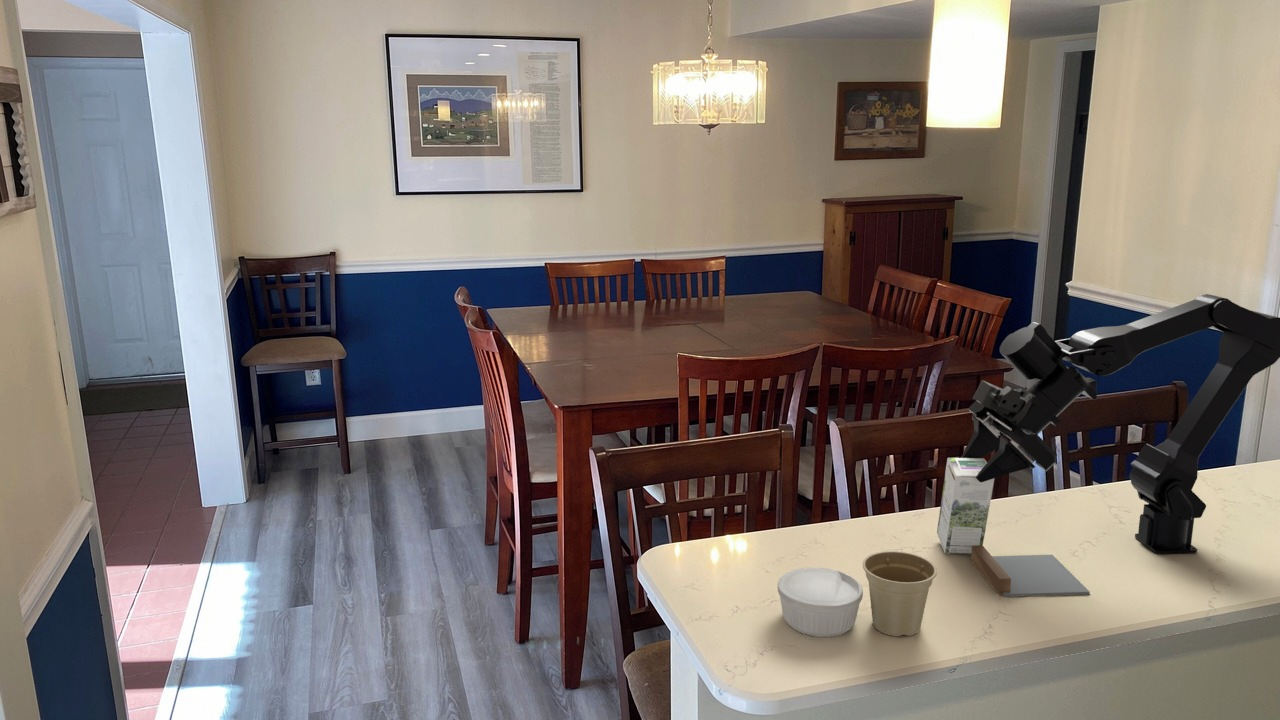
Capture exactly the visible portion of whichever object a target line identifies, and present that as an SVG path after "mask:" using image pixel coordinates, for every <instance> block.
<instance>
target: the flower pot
mask: <svg viewBox="0 0 1280 720" xmlns="http://www.w3.org/2000/svg"><path fill="white" fill-rule="evenodd" d="M862 568H863V570H864V572H865V578H866V580H867V581H868V589H869V599H870V600H869V601H870V609H871V618H872V619H871V621H872V623H873V625H874V627H875V629H876V630H878V632H881V633H883V634H886V635H887V636H888V635H889V636H894V637H900V636H903V635H904V636H907V637H911V636H914V635H915V634H917V633H919V632H920V630H921V628H922V622H923V617H924V613H925V608H926V603H927V599H928V595H929V589H930V587H931V586H932V583H933V580H934V579H935V578H936V577H937V573H938V570H937V567H936V565H935V564H934V563H933V562H932V561H930V560H929V559H928V558H926V557H923V556H921V555H918V554H914V553H911V552H906V551H898V550H895V551H894V550H889V551H888V550H886V551H878V552H874V553H872V554H869V555H868V556H866V557H865V558H864V559H863V561H862Z"/></svg>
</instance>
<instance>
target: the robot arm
mask: <svg viewBox="0 0 1280 720" xmlns="http://www.w3.org/2000/svg"><path fill="white" fill-rule="evenodd" d="M1209 328H1214V329H1216V330H1218V331H1220V332H1222V335H1221V337H1220V338H1219V349H1218V351H1219V352H1218V360H1217V362H1216V363H1215V366H1214V367H1213V368H1212V369H1211V371H1210V372H1209V375H1208V376H1207V377H1206V379H1205V381H1204V382H1203V384H1202V385H1201V386H1200V388H1199V389H1198V391H1197V392H1196V394H1195V395H1194V397H1193V399H1192V400H1191V402H1190V403H1189V404H1188V406H1187V407H1186V409H1185V410H1184V412H1183V414H1182V416H1180V418H1179V419H1178V421H1177V422H1176V424H1175V426H1174V427H1173V428H1172V430H1171V432H1170V434H1169V435H1168V436H1167V438H1166V439H1165V440H1164V441H1163V442H1161V443H1159V444H1157V445H1155V446H1153V445H1151V444H1149V443H1145V444H1144V445H1143V446H1142V447H1141V450H1140V451H1139V453H1138V456H1137V457H1136V458H1135V459H1134V460H1133V461H1132V462H1130V465H1131V466H1132V467H1131V470H1130V472H1129V479H1130V484H1131V485H1132V487H1133V489H1135V491H1136V493H1137V496H1138V499H1139V500H1141V501H1144V502H1146V503H1144V504H1143V508H1142V509H1143V510H1142V514H1141V513H1140V515H1139V521H1138V522H1139V523H1138V530H1137V531H1138V533H1135V534H1134V538H1135V539H1137V540H1138V541H1139V542H1140V543H1142V544H1143V545H1144V546H1146V547H1147V548H1148V549H1149V550H1150V551H1152V552H1153V553H1155V554H1190V553H1194V554H1195V553H1197V552H1198V548H1197V547H1195V546H1194V545H1192V540H1193V539H1192V538H1193V533H1194V526H1195V525H1194V523H1195V519H1200V518H1202V517H1203V515H1204V513H1205V510H1206V508H1207V504H1206V503H1205V502H1204V501H1203V500H1202V499H1201V498H1200V497H1199V495H1197V494H1196V493H1195V492H1194V491H1193V488H1194V485H1195V484H1196V481H1197V480H1198V473H1199V472H1198V470H1199V469H1198V468H1199V458H1200V456H1201V455H1202V452H1203V451H1204V450H1205V448H1206V447H1207V446H1208V443H1209V442H1210V440H1212V438H1213V437H1214V435H1215V434H1216V433H1217V430H1218V428H1219V427H1220V426H1221V424H1222V423H1223V421H1224V420H1225V418H1226V416H1227V415H1228V414H1229V413H1230V411H1231V409H1232V408H1233V406H1234V405H1235V403H1236V402H1237V401H1238V399H1239V398H1240V396H1241V394H1242V393H1243V391H1244V390H1245V389H1246V387H1247V386H1248V384H1249V383H1250V381H1251V379H1252V378H1253V377H1255V375H1257V374H1259V373H1260V372H1262V371H1264V370H1266V369H1267V368H1270V367H1271V366H1272V365H1274V364H1275V363H1276V362H1277V361H1278V360H1280V317H1279V316H1275V315H1270V314H1267V313H1262V312H1259V311H1256V310H1255V311H1254V310H1251V309H1247V308H1245V307H1243V306H1240V305H1239V304H1236V303H1235V302H1233V301H1232V300H1230V299H1229V298H1227V297H1222V296H1218V295H1217V296H1216V295H1213V294H1207V293H1206V294H1202V295H1198V296H1197V297H1195V299H1193V300H1190V301H1187V302H1184V303H1181V304H1179V305H1178V304H1177V306H1174V307H1173V306H1172V307H1171V308H1170V307H1169V308H1168V309H1165V310H1162V311H1159V312H1157V313H1155V314H1152V315H1149V316H1145V317H1143V318H1140V319H1138V320H1135V321H1132V322H1130V323H1127V324H1122V325H1115V326H1112V325H1111V326H1100V327H1094V328H1088V329H1083V330H1080V331H1077V332H1075V333H1074V334H1072V336H1070V337H1069V338H1064V339H1058V340H1054V339H1053V338H1052V336H1051V335H1049V333H1048V332H1047V330H1046V329H1045V327H1044V326H1043V325H1042V324H1041V323H1038V322H1035V321H1032V322H1031V323H1030V324H1029V325H1028V326H1024V327H1022V328H1020V329H1018V330H1015V331H1014V332H1012V333H1009V334H1008V335H1007V336H1006V337H1005V338H1004V340H1003V341H1002V342H1001V344H1000V346H999V353H1000V354H1001V355H1002V357H1004V358H1005V359H1006V361H1007V362H1008V363H1009V364H1010V365H1011V366H1012V367H1014V368H1015V370H1016V371H1017V372H1019V374H1020V375H1021V376H1022V377H1023V378H1024V379H1026V380H1035V381H1034V382H1033V383H1032V384H1031V385H1030V386H1029V387H1028V388H1027V389H1025V388H1022V387H1020V388H1016V389H1014V388H1012V387H1010V386H1007V385H1006V386H1005V387H1004V388H1001V387H999V386H997V385H994V384H992V383H990V382H987V381H985V380H984V379H983V380H981V382H980V383H979V385H978V387H977V390H976V391H975V393H974V395H973V396H972V400H974V402H973V403H972V404H971V405H970V406H969V407H968V408H967V409H968V411H969V412H970V413H971V414H972V416H971V420H972V421H973V432H972V436H971V437H970V440H969V441H968V443H967V445H966V447H965V449H964V451H963V453H962V454H961V456H960V458H984V457H987V455H989V454H991V453H993V452H994V451H996V450H997V451H996V452H995V453H994V455H992V457H991V458H990V459H988V461H986V462H987V464H986V465H985V466H984V467H983V468H982V469H981V471H980V472H979V473H978V475H977V476H976V479H977V480H978V481H979V482H984V481H987V480H990V479H993V478H994V479H996V478H999V477H1002V476H1006V475H1008V474H1012V473H1015V472H1019V471H1024V470H1027V469H1036V465H1037V466H1038V467H1039V468H1041V469H1042V470H1043V471H1045V472H1048V471H1049V470H1050V469H1051V468H1052V467H1053V466H1054V465H1055V464H1056V463H1057V455H1058V454H1057V453H1056V452H1055V450H1053V448H1051V447H1050V446H1049V444H1047V443H1046V442H1045V441H1044V439H1042V438H1041V437H1040V436H1039V434H1040V433H1041V432H1042V431H1043V430H1045V429H1046V428H1047V426H1048V425H1050V424H1052V425H1054V426H1055V427H1057V425H1058V424H1060V423H1061V420H1060V419H1059V417H1058V416H1059V415H1060V414H1061V413H1063V412H1064V410H1066V409H1067V408H1068V406H1070V405H1071V404H1072V403H1073V402H1074V401H1075V400H1076V399H1077V398H1078V397H1080V395H1081V394H1082V395H1083V396H1085V397H1088V398H1090V399H1091V400H1096V399H1098V391H1097V383H1098V381H1097V380H1095V379H1093V378H1091V377H1085V376H1084V375H1083V374H1082V373H1081V372H1080V371H1079V370H1078V369H1077V368H1076V367H1078V368H1079V369H1082V370H1084V371H1086V372H1088V373H1090V374H1093V375H1095V376H1098V377H1106V376H1110V375H1112V374H1115V373H1116V372H1118V371H1120V370H1121V369H1123V368H1125V367H1127V366H1129V365H1131V364H1132V362H1133V361H1134V360H1136V359H1135V358H1137V356H1139V355H1140V354H1142V353H1144V352H1146V351H1150V350H1152V349H1155V348H1157V347H1158V348H1159V346H1162V345H1165V344H1168V343H1171V342H1174V341H1176V340H1179V339H1181V338H1184V337H1187V336H1190V335H1193V334H1196V333H1198V332H1201V331H1204V330H1206V329H1209ZM1062 360H1063V361H1065V362H1068V363H1070V364H1072V365H1073V366H1066V365H1065V364H1064V363H1063V362H1062ZM1074 366H1075V367H1074ZM1048 427H1049V426H1048ZM1006 437H1007V438H1006ZM1008 438H1009V439H1010V440H1008ZM1034 462H1035V464H1036V465H1034Z"/></svg>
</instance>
